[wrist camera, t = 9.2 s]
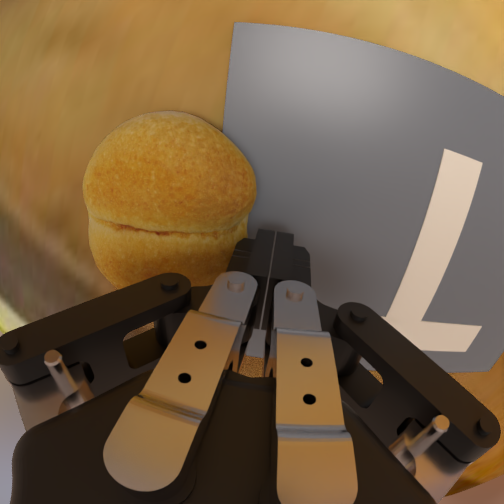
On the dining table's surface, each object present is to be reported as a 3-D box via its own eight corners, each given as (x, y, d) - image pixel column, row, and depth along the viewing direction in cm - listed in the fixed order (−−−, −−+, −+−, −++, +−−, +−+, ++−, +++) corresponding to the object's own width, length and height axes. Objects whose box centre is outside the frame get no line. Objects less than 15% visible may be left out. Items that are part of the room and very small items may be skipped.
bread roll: (269, 118, 12) (254, 127, 8) (243, 294, 16) (226, 348, 13) (100, 107, 12) (43, 119, 9) (107, 262, 17) (70, 302, 13)
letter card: (235, 23, 10) (234, 22, 10) (586, 156, 9) (589, 157, 8) (211, 346, 19) (210, 349, 19) (487, 369, 18) (488, 371, 17)
